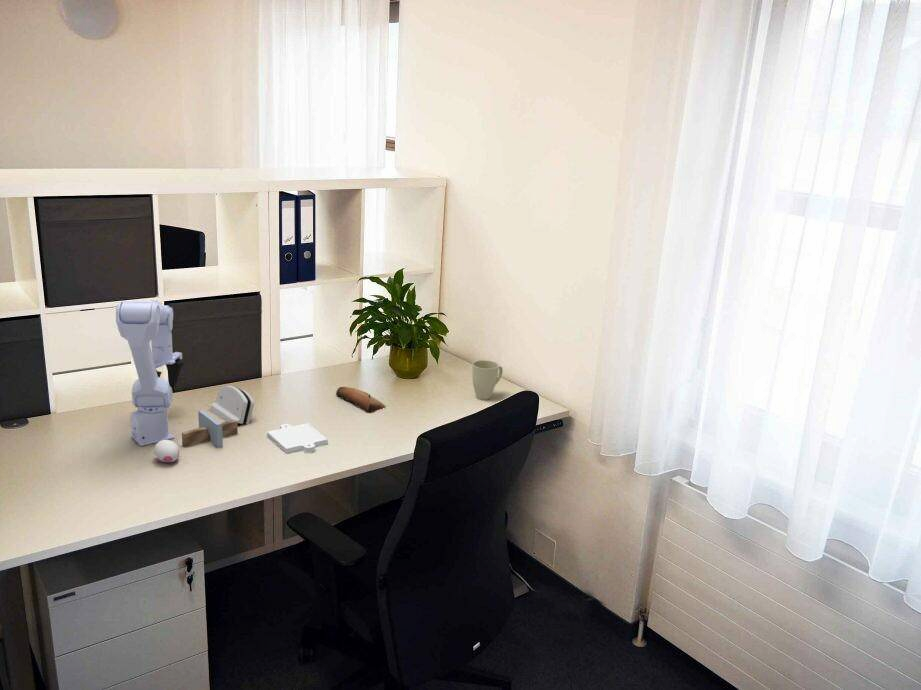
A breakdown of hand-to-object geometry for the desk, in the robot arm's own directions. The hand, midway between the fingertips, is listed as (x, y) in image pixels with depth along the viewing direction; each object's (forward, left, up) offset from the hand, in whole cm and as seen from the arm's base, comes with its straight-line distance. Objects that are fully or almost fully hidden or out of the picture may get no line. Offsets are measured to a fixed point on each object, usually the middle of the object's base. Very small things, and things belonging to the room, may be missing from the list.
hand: (164, 387), depth 233 cm
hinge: (+17, -10, -10) cm, 22 cm away
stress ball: (-10, -28, -10) cm, 31 cm away
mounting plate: (+24, -36, -10) cm, 44 cm away
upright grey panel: (+4, -22, -9) cm, 24 cm away
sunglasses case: (+57, -22, -10) cm, 61 cm away
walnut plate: (+4, -22, -9) cm, 24 cm away
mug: (+95, -41, -10) cm, 104 cm away
